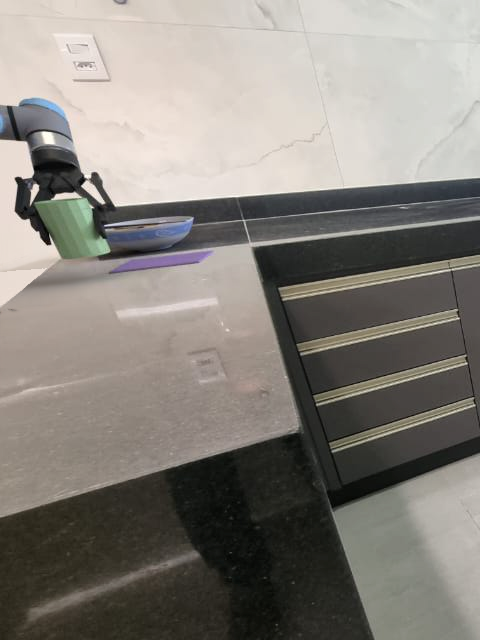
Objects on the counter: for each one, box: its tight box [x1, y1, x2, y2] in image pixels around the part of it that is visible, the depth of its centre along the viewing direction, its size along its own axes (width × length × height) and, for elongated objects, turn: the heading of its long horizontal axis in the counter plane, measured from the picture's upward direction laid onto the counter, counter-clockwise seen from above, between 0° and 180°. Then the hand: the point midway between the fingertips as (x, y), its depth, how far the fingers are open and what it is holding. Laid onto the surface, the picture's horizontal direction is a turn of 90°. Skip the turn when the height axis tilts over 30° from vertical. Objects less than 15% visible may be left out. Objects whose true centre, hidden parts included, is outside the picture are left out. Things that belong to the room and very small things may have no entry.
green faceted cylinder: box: [34, 197, 111, 260], centre depth 118 cm, size 8×8×12 cm
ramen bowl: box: [104, 215, 194, 253], centre depth 151 cm, size 25×23×8 cm
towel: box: [108, 250, 214, 274], centre depth 136 cm, size 18×14×1 cm
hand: (75, 238), depth 116 cm, fingers closed on green faceted cylinder, 8 cm apart
